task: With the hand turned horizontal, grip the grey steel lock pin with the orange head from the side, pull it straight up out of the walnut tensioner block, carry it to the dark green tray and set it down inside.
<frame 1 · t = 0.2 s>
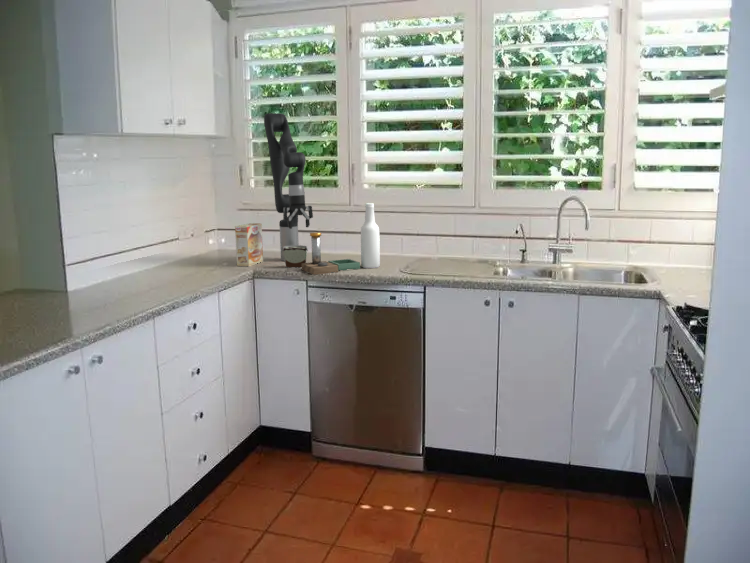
hand: (298, 227, 327), 18 cm above the countertop, tool pointing down, fingers open, 8 cm apart
tensioner block: (319, 270, 310), on the countertop
food container: (296, 267, 322), on the countertop
alcohol: (370, 267, 318), on the countertop
lock pin: (316, 269, 313), resting in tensioner block
tray: (344, 267, 317), on the countertop
coffeecake box: (250, 264, 332), on the countertop
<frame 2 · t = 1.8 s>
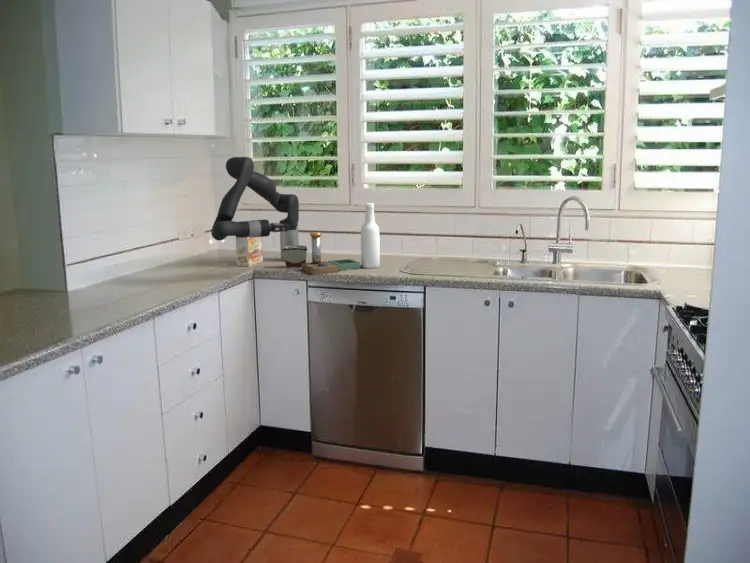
hand: (292, 226, 304), 21 cm above the countertop, tool horizontal, fingers open, 8 cm apart
nothing on the countertop moved.
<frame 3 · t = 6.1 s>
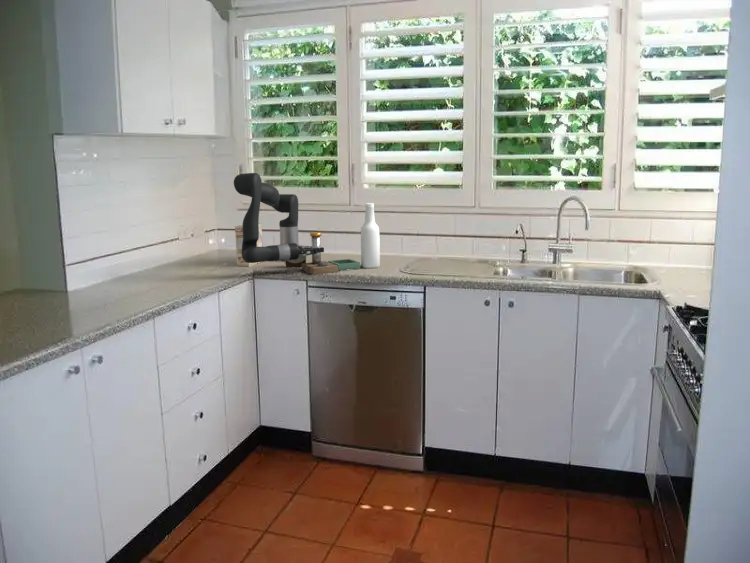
hand: (321, 249, 312), 10 cm above the countertop, tool horizontal, fingers closed on lock pin, 4 cm apart
lock pin: (316, 269, 313), resting in tensioner block, touching gripper
everything else where it was.
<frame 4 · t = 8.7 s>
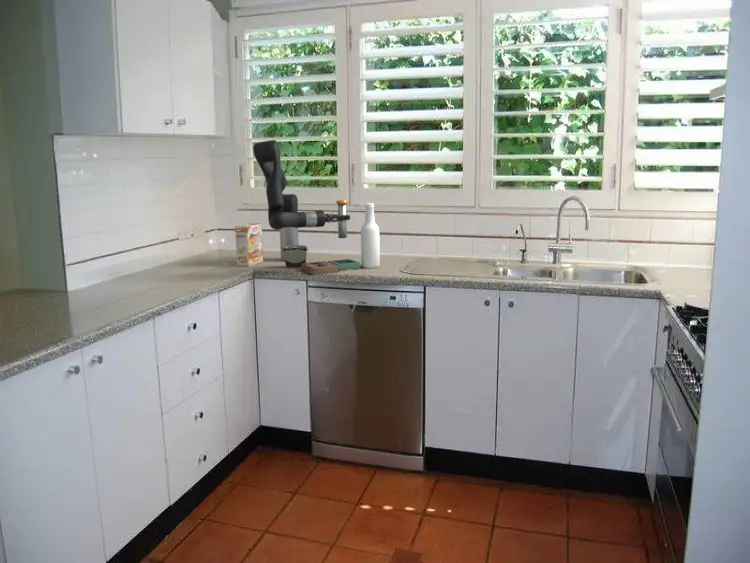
hand: (347, 217, 313), 24 cm above the countertop, tool horizontal, fingers closed on lock pin, 4 cm apart
lock pin: (342, 237, 314), point 14 cm above the countertop, touching gripper
everything else where it was.
when the fingers open (11 cm above the countertop, at t = 11.5 s): lock pin drops 1 cm, resting on tray.
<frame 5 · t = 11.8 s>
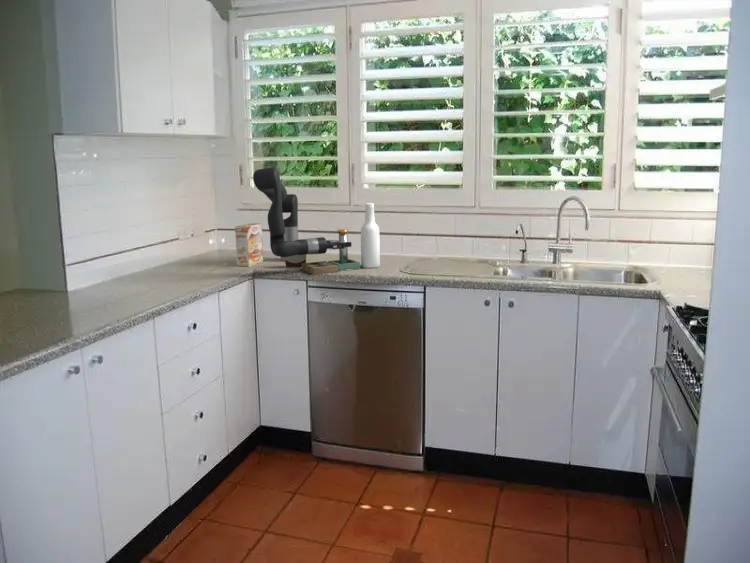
hand: (347, 243, 315), 12 cm above the countertop, tool horizontal, fingers open, 7 cm apart
lock pin: (343, 266, 316), point 1 cm above the countertop, touching tray
everything else where it was.
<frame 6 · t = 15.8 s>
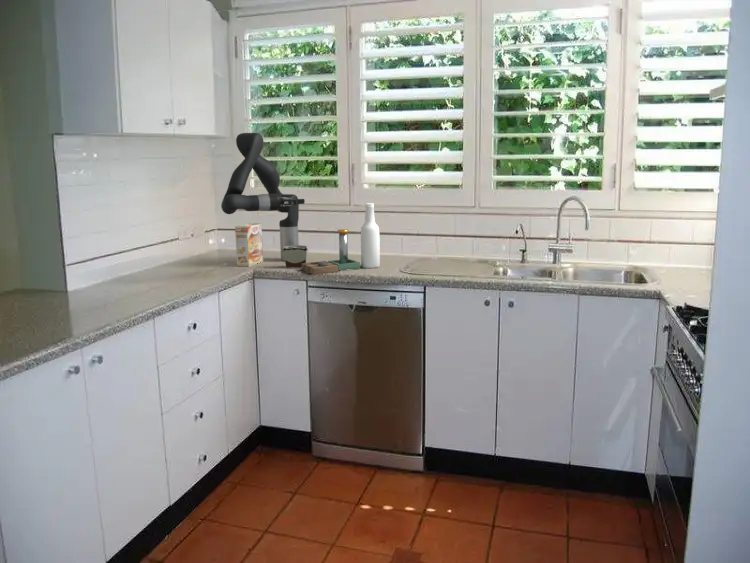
hand: (301, 200, 308), 32 cm above the countertop, tool horizontal, fingers open, 8 cm apart
nothing on the countertop moved.
at the end: lock pin inside the target area on the tray (0.1 cm from its centre), point 0.8 cm above the tray's base; the gripper is holding nothing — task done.
